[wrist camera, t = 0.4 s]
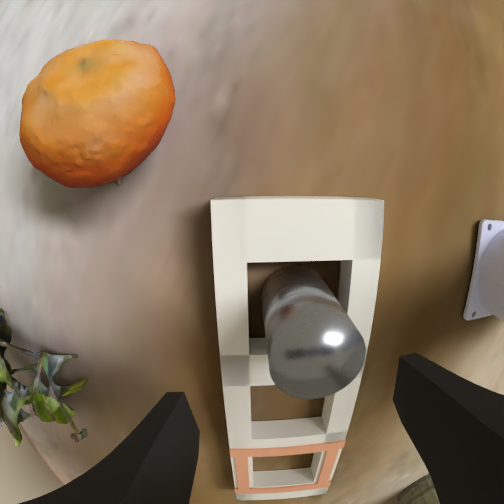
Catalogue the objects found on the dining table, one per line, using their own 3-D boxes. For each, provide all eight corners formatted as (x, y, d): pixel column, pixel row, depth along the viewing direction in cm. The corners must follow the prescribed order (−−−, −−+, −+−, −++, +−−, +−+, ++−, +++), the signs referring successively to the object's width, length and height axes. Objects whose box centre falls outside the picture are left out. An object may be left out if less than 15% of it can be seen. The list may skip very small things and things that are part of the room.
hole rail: (369, 197, 16) (385, 200, 14) (322, 479, 23) (326, 495, 21) (214, 197, 16) (210, 200, 14) (236, 485, 23) (236, 501, 21)
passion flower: (42, 308, 24) (-51, 270, 13) (123, 327, 22) (8, 288, 11) (32, 411, 20) (-62, 407, 9) (112, 452, 18) (5, 482, 7)
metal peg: (327, 263, 17) (373, 315, 10) (323, 323, 18) (357, 393, 11) (260, 265, 17) (269, 322, 10) (261, 326, 18) (268, 402, 11)
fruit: (30, 184, 14) (-27, 108, 7) (100, 97, 17) (87, 8, 9) (126, 242, 15) (93, 173, 8) (194, 138, 18) (215, 42, 10)
